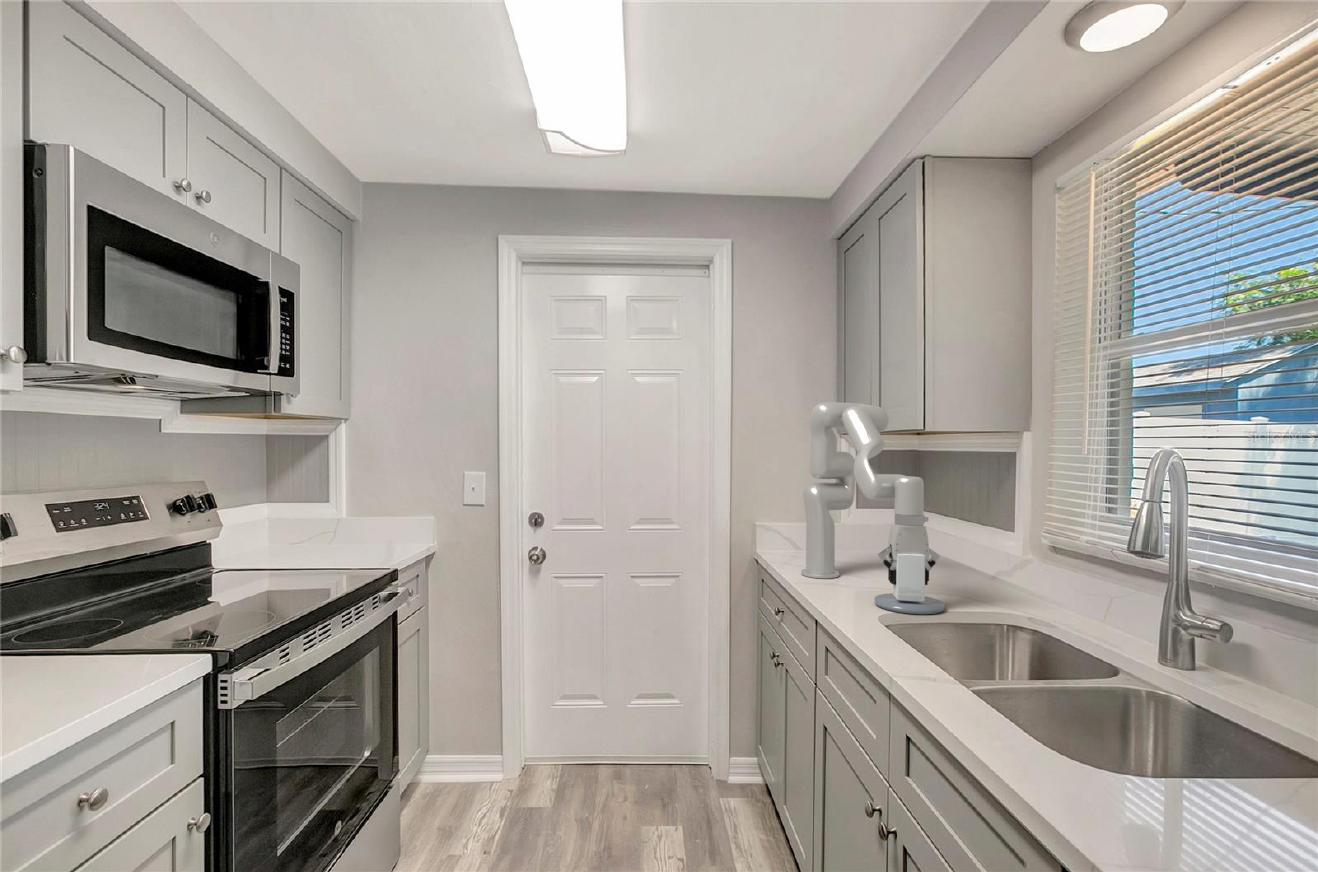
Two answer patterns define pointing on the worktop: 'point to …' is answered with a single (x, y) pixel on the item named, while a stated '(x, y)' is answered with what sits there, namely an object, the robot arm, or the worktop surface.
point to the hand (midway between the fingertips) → (908, 583)
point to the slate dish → (909, 605)
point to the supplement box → (910, 577)
